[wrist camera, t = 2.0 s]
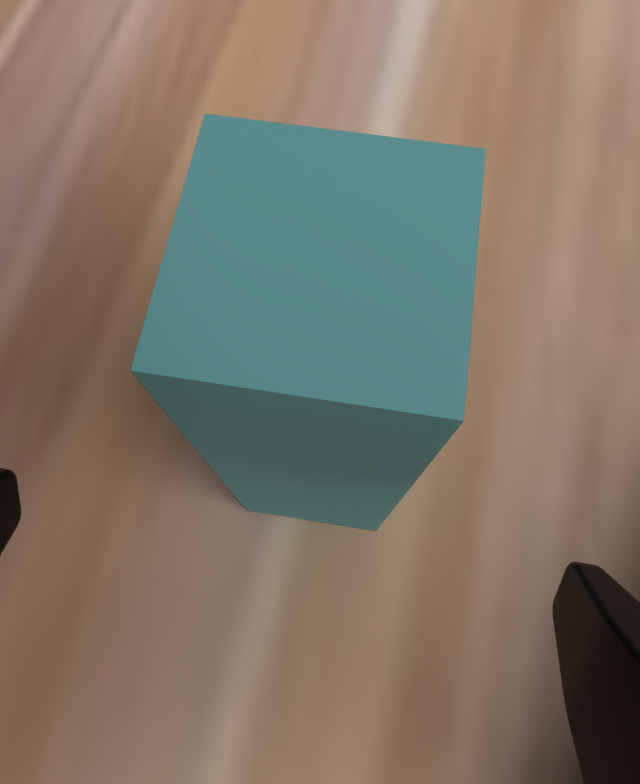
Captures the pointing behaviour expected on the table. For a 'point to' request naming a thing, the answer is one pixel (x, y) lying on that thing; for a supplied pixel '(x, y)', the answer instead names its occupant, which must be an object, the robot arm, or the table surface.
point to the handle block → (316, 313)
